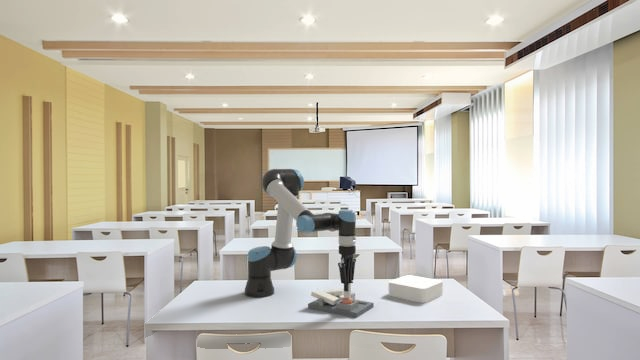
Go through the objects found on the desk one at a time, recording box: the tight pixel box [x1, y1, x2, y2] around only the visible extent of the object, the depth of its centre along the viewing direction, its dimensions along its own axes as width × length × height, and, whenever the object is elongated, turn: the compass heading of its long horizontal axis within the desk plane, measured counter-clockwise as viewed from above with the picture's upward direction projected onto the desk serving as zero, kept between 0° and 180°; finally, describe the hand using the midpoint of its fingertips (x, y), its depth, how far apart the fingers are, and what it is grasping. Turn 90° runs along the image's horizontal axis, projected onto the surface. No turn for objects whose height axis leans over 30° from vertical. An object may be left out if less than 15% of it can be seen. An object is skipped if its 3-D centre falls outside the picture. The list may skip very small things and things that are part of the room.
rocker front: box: [310, 288, 339, 305], centre depth 195 cm, size 12×5×2 cm, turn 58°
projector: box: [388, 274, 444, 304], centre depth 216 cm, size 21×22×7 cm
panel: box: [307, 294, 375, 319], centre depth 195 cm, size 25×17×5 cm
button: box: [342, 296, 352, 304], centre depth 189 cm, size 5×5×4 cm
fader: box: [351, 291, 356, 300], centre depth 198 cm, size 2×3×3 cm, turn 148°
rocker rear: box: [322, 288, 344, 297], centre depth 201 cm, size 12×5×2 cm, turn 58°
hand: (347, 297), depth 188 cm, fingers closed
